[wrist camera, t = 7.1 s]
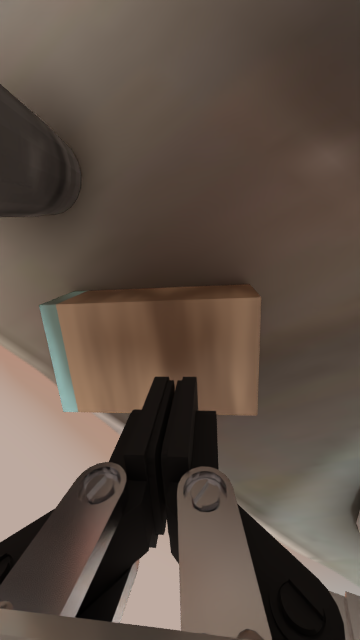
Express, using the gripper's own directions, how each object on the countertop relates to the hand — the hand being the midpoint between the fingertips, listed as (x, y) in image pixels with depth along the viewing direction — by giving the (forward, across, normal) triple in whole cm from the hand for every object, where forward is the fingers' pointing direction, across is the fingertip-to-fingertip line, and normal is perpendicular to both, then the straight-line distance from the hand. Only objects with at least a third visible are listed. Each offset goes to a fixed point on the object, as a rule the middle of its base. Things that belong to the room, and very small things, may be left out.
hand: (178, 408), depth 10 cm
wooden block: (+6, -4, 0) cm, 7 cm away
